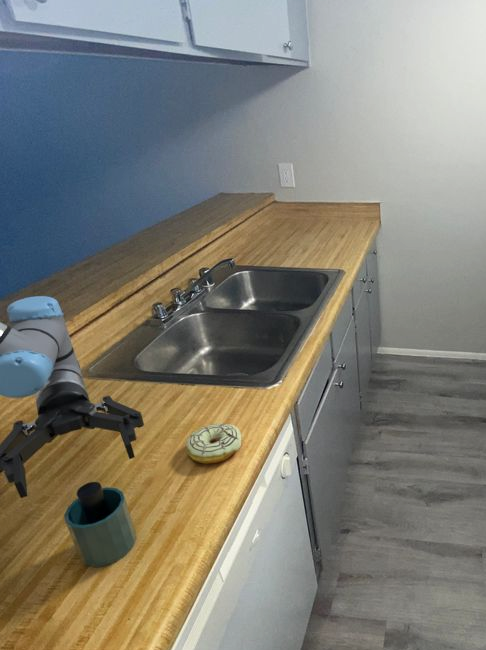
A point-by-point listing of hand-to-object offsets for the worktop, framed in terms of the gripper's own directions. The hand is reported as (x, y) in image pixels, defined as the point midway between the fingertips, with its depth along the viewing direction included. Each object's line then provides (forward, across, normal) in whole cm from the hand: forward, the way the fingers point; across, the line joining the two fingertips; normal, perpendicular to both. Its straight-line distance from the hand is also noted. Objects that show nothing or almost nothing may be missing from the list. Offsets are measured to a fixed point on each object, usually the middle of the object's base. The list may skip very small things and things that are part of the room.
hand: (78, 469), depth 69 cm
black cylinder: (-1, 0, -17) cm, 17 cm away
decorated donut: (-14, -22, -18) cm, 32 cm away
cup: (-1, 0, -18) cm, 18 cm away
